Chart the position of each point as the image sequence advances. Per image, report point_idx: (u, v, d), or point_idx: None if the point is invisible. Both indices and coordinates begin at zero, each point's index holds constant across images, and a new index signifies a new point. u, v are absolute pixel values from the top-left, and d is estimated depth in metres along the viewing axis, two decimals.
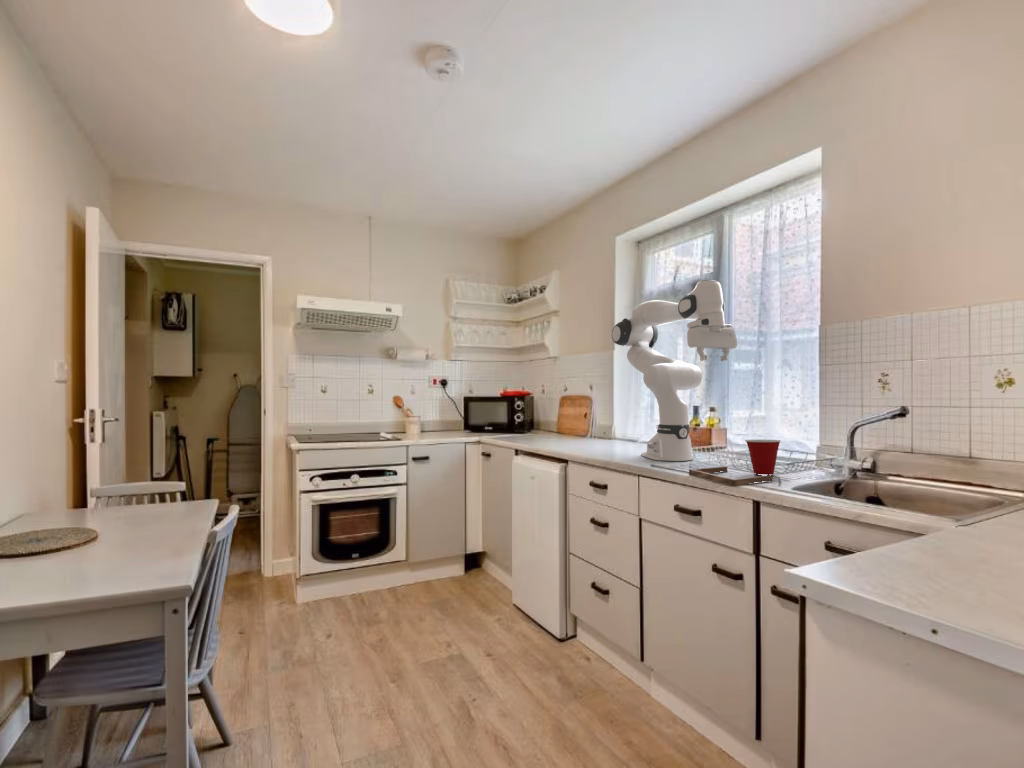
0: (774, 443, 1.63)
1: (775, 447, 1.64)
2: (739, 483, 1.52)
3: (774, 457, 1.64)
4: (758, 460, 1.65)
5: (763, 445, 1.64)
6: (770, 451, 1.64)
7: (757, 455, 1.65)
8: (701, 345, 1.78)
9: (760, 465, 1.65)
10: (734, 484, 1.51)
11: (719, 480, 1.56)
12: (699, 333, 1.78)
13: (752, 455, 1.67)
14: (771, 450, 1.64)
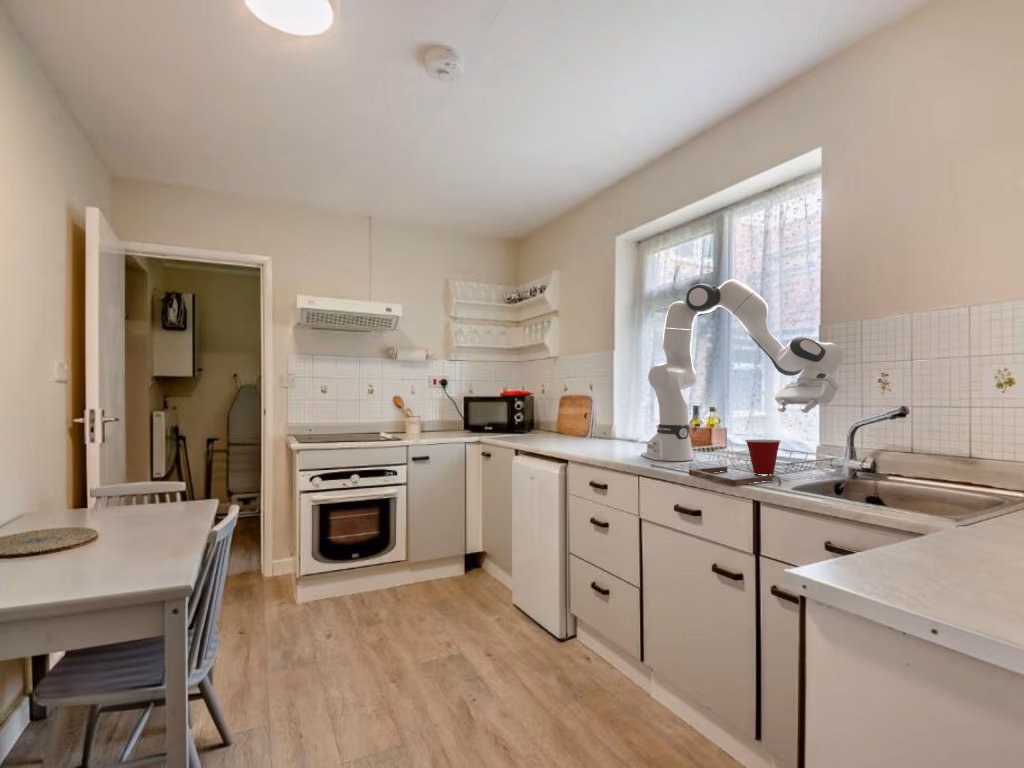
0: (774, 443, 1.63)
1: (775, 447, 1.64)
2: (739, 483, 1.52)
3: (774, 457, 1.64)
4: (758, 460, 1.65)
5: (763, 445, 1.64)
6: (770, 451, 1.64)
7: (757, 455, 1.65)
8: None
9: (760, 465, 1.65)
10: (734, 484, 1.51)
11: (719, 480, 1.56)
12: None
13: (752, 455, 1.67)
14: (771, 450, 1.64)
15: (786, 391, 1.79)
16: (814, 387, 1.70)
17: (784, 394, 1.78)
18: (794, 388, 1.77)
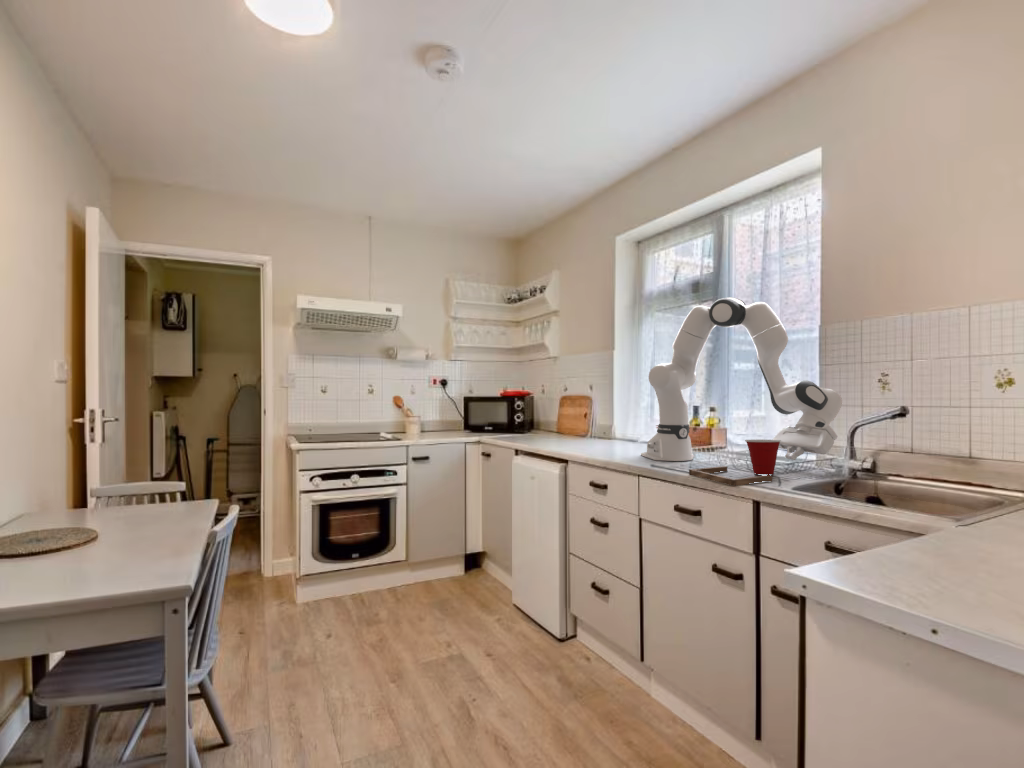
0: (774, 443, 1.63)
1: (775, 447, 1.64)
2: (739, 483, 1.52)
3: (774, 457, 1.64)
4: (758, 460, 1.65)
5: (763, 445, 1.64)
6: (770, 451, 1.64)
7: (757, 455, 1.65)
8: None
9: (760, 465, 1.65)
10: (734, 484, 1.51)
11: (719, 480, 1.56)
12: None
13: (752, 455, 1.67)
14: (771, 450, 1.64)
15: (784, 436, 1.79)
16: (812, 436, 1.70)
17: (782, 439, 1.78)
18: (793, 433, 1.77)
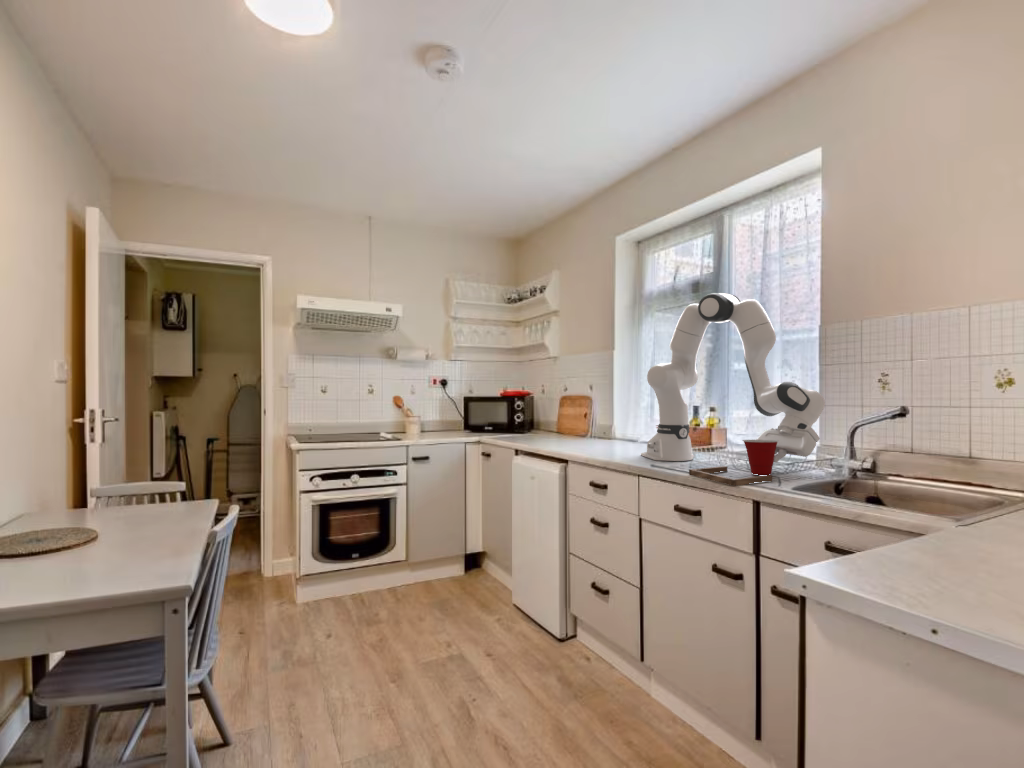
0: (771, 443, 1.63)
1: (772, 447, 1.63)
2: (739, 483, 1.52)
3: (771, 457, 1.64)
4: (755, 460, 1.65)
5: (760, 445, 1.63)
6: (767, 451, 1.63)
7: (754, 455, 1.65)
8: None
9: (757, 465, 1.65)
10: (734, 484, 1.51)
11: (719, 480, 1.56)
12: None
13: (749, 455, 1.67)
14: (768, 451, 1.63)
15: (766, 438, 1.76)
16: (794, 438, 1.67)
17: None
18: (775, 435, 1.74)
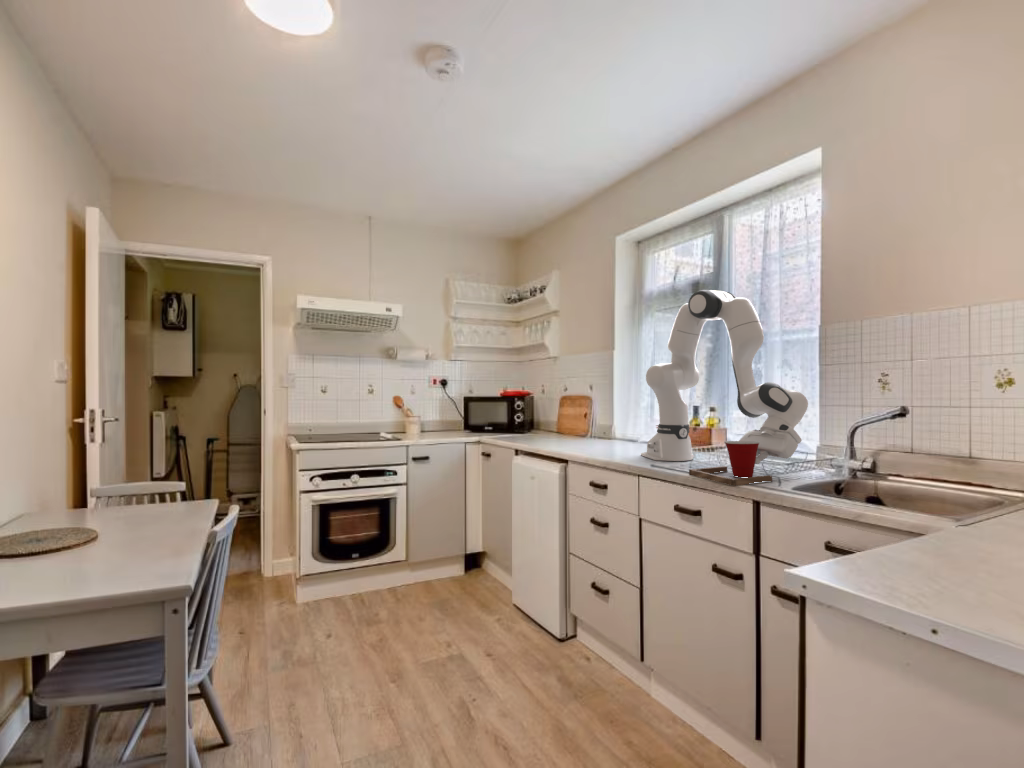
0: (751, 445, 1.60)
1: (753, 449, 1.60)
2: (739, 483, 1.52)
3: (752, 459, 1.61)
4: (736, 462, 1.62)
5: (740, 447, 1.61)
6: (748, 452, 1.60)
7: (734, 457, 1.62)
8: None
9: (737, 467, 1.62)
10: (734, 484, 1.51)
11: (719, 480, 1.56)
12: None
13: (730, 457, 1.64)
14: (748, 452, 1.60)
15: (749, 439, 1.73)
16: (776, 439, 1.64)
17: None
18: (757, 437, 1.72)
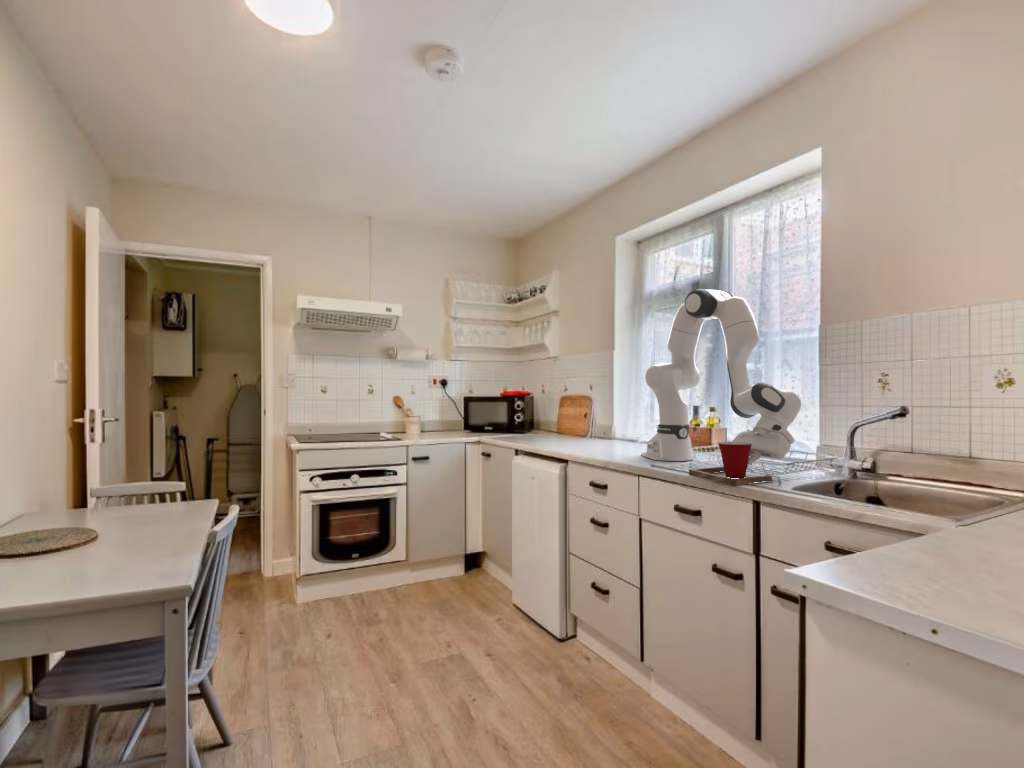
0: (744, 445, 1.59)
1: (746, 450, 1.59)
2: (739, 483, 1.52)
3: (745, 460, 1.60)
4: (729, 462, 1.61)
5: (733, 447, 1.59)
6: (740, 453, 1.59)
7: (727, 458, 1.61)
8: None
9: (730, 468, 1.61)
10: (734, 484, 1.51)
11: (719, 480, 1.56)
12: None
13: (723, 457, 1.63)
14: (741, 453, 1.59)
15: (742, 440, 1.72)
16: (769, 439, 1.63)
17: None
18: (750, 437, 1.70)
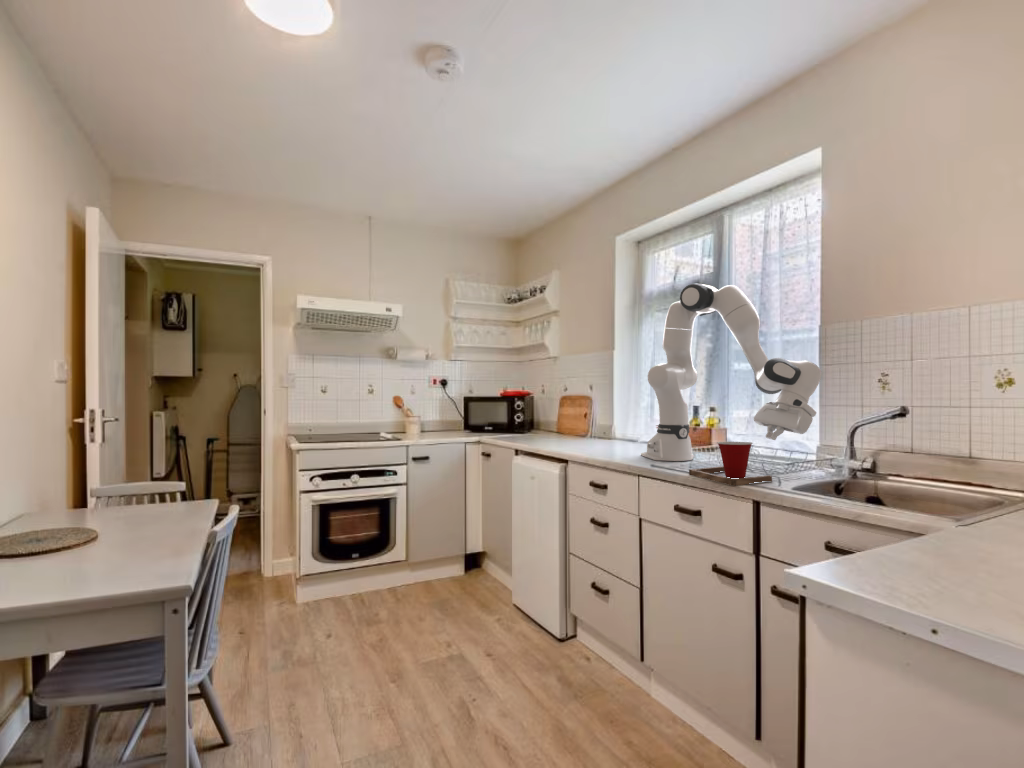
0: (744, 446, 1.59)
1: (745, 450, 1.59)
2: (739, 483, 1.52)
3: (745, 460, 1.60)
4: (728, 462, 1.61)
5: (733, 447, 1.59)
6: (740, 453, 1.59)
7: (727, 458, 1.61)
8: None
9: (730, 468, 1.61)
10: (734, 484, 1.51)
11: (719, 480, 1.56)
12: None
13: (723, 458, 1.63)
14: (741, 453, 1.59)
15: (765, 414, 1.77)
16: (791, 414, 1.67)
17: (763, 418, 1.76)
18: (773, 411, 1.75)
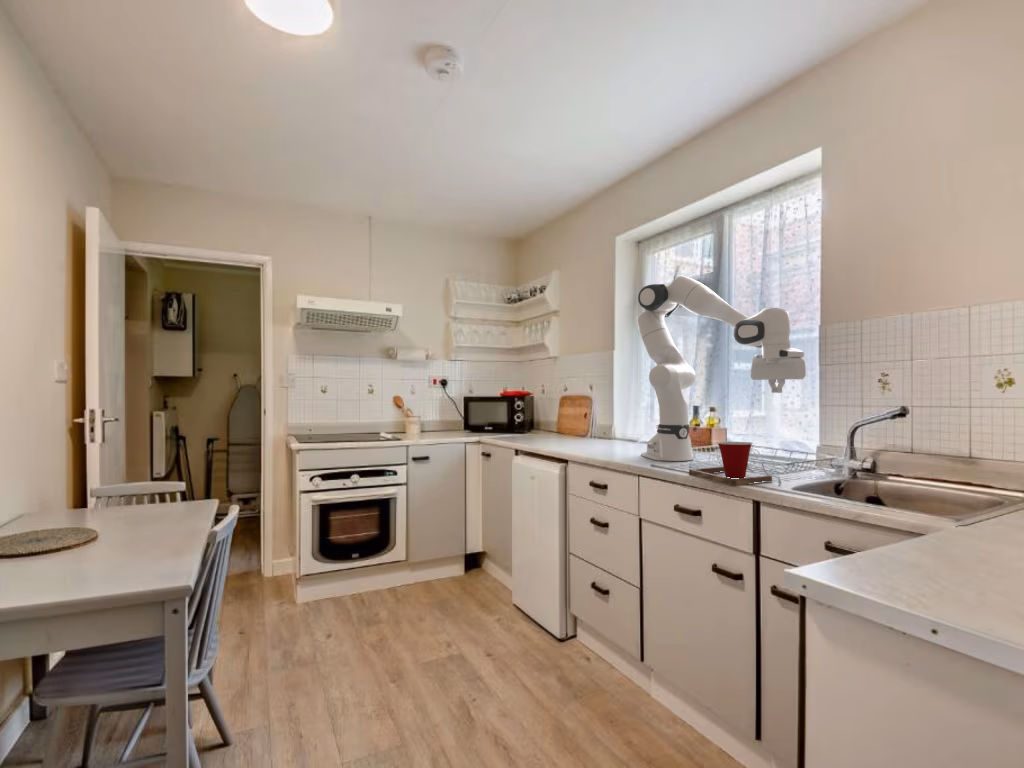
0: (744, 446, 1.59)
1: (745, 450, 1.59)
2: (739, 483, 1.52)
3: (745, 460, 1.60)
4: (728, 462, 1.61)
5: (733, 447, 1.59)
6: (740, 453, 1.59)
7: (727, 458, 1.61)
8: None
9: (730, 468, 1.61)
10: (734, 484, 1.51)
11: (719, 480, 1.56)
12: None
13: (723, 458, 1.63)
14: (741, 453, 1.59)
15: (759, 371, 1.80)
16: (783, 365, 1.71)
17: (759, 375, 1.80)
18: (765, 366, 1.78)
